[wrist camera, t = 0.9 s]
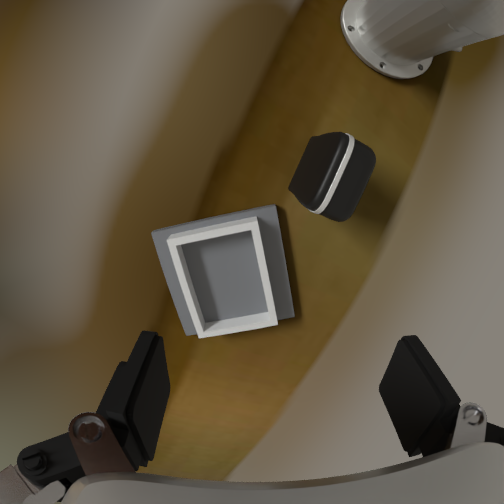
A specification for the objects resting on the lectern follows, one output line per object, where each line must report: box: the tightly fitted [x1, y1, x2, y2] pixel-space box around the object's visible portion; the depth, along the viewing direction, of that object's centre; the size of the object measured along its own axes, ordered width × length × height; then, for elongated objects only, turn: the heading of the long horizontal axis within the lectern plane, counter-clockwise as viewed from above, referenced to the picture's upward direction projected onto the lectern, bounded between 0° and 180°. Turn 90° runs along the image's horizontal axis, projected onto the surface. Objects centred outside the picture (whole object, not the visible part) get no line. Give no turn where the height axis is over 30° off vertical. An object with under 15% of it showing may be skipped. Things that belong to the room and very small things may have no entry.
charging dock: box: [151, 204, 295, 338], centre depth 33 cm, size 14×14×3 cm
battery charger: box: [289, 132, 376, 222], centre depth 25 cm, size 7×4×11 cm, turn 157°
